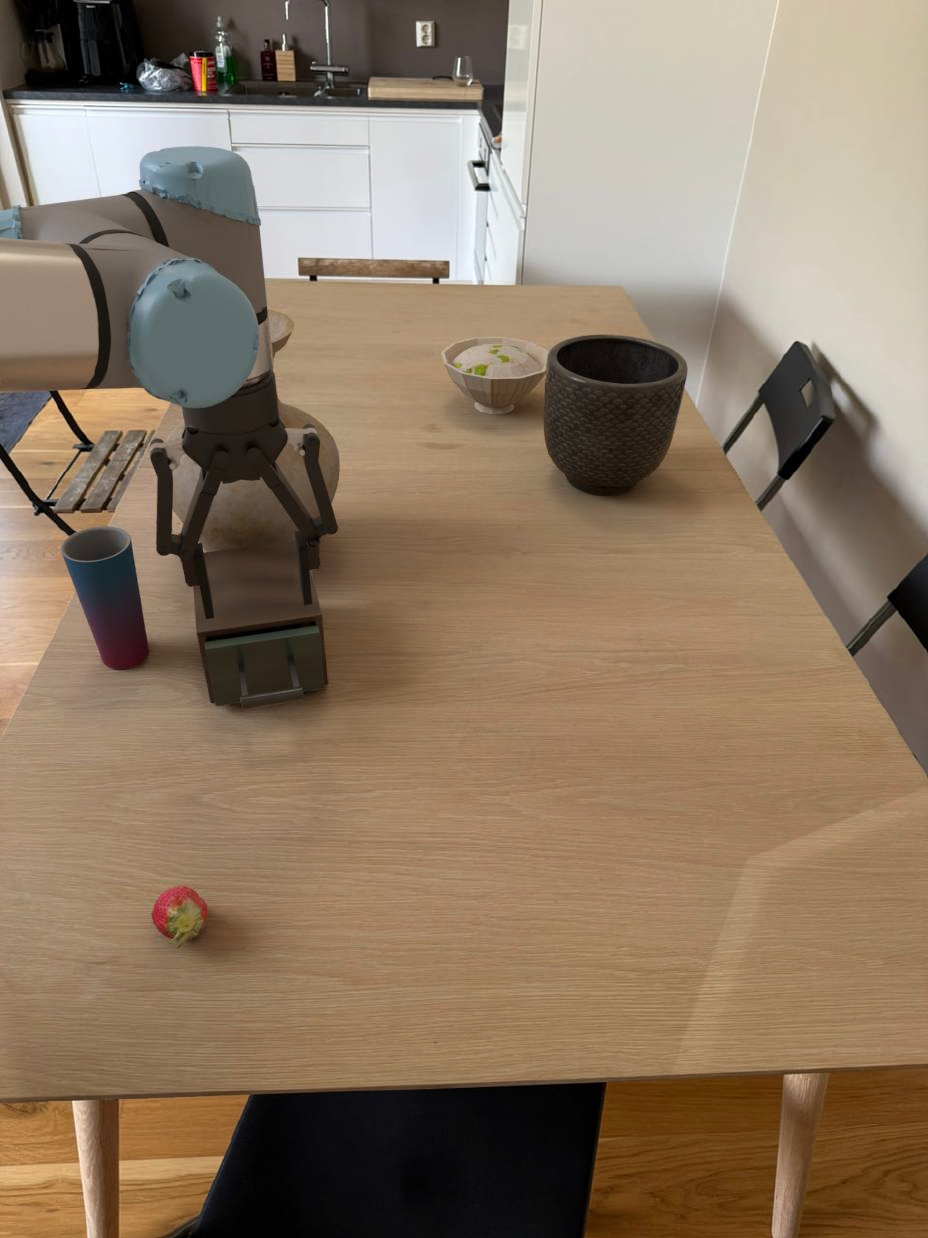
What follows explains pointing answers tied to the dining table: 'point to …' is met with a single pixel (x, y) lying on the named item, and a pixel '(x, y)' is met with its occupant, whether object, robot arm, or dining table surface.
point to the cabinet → (254, 595)
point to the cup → (108, 593)
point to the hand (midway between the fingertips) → (258, 602)
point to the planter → (611, 409)
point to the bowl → (495, 370)
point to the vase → (258, 481)
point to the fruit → (180, 914)
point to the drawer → (265, 665)
